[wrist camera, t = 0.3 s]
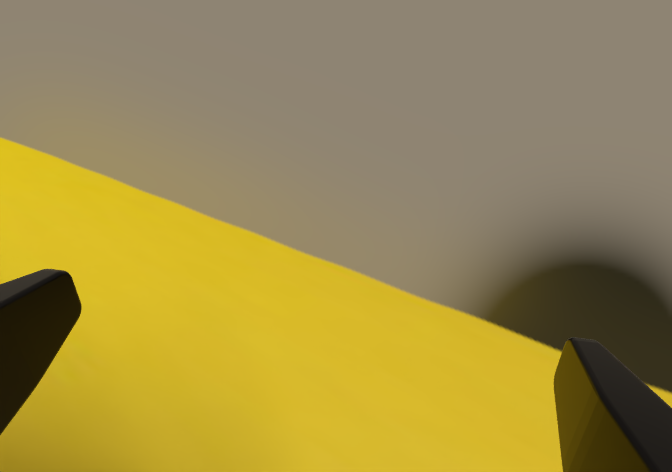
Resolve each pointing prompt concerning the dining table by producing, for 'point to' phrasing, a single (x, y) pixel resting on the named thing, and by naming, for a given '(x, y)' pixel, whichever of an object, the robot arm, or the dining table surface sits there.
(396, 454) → the dining table surface
